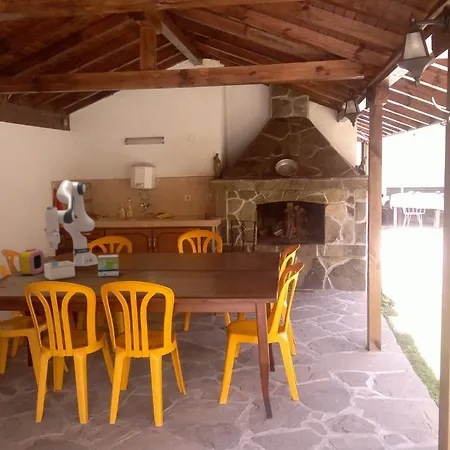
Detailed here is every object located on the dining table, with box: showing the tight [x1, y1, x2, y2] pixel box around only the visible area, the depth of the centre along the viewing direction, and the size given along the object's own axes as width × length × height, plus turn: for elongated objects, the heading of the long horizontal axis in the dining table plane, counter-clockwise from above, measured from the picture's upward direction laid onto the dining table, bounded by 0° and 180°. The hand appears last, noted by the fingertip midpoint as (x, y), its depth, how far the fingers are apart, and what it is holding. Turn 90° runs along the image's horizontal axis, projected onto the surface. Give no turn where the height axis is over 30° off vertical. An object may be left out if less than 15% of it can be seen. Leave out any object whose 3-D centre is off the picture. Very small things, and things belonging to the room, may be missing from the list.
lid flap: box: [50, 261, 75, 279], centre depth 362 cm, size 17×2×12 cm, turn 127°
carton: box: [43, 260, 76, 281], centre depth 368 cm, size 18×14×10 cm
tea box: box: [97, 254, 120, 277], centre depth 370 cm, size 15×10×15 cm, turn 101°
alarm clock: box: [18, 247, 45, 276], centre depth 382 cm, size 18×11×19 cm, turn 168°
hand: (53, 248), depth 357 cm, fingers open, 8 cm apart
